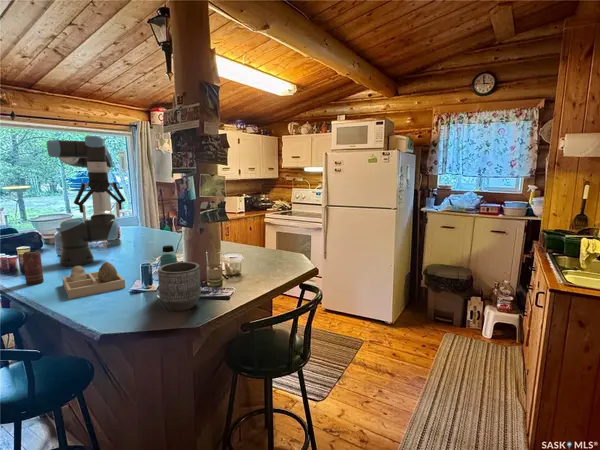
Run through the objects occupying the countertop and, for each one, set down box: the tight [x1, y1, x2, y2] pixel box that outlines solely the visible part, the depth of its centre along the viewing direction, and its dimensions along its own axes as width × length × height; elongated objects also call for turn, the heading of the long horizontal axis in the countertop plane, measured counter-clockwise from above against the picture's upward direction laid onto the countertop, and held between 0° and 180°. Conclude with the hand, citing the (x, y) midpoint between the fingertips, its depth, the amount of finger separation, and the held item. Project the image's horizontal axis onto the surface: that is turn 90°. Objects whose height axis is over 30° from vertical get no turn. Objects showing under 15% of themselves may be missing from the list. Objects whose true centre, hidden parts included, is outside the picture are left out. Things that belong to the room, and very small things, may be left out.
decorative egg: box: [97, 261, 118, 283], centre depth 146 cm, size 7×7×10 cm
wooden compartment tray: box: [62, 271, 126, 300], centre depth 148 cm, size 20×20×4 cm
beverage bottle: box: [159, 244, 178, 267], centre depth 137 cm, size 6×7×20 cm
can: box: [22, 250, 44, 286], centre depth 151 cm, size 6×6×14 cm
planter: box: [157, 261, 202, 312], centre depth 126 cm, size 14×14×15 cm
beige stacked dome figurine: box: [69, 265, 87, 282], centre depth 148 cm, size 6×6×8 cm
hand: (102, 218), depth 159 cm, fingers open, 13 cm apart
